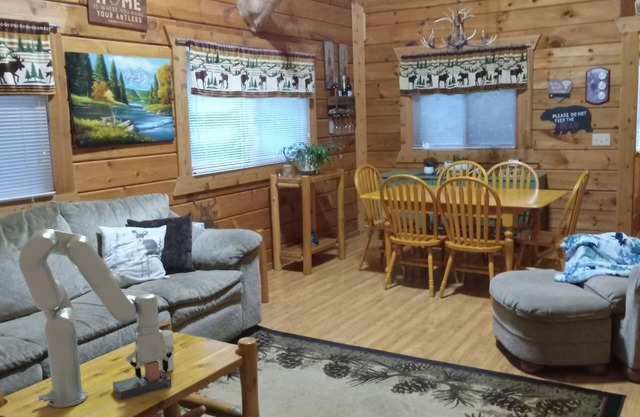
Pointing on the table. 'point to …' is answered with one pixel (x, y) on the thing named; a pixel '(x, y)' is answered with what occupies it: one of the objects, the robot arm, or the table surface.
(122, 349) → the table surface
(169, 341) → the drinking glass
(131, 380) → the square hole plate
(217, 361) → the table surface
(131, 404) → the table surface
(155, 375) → the square peg
